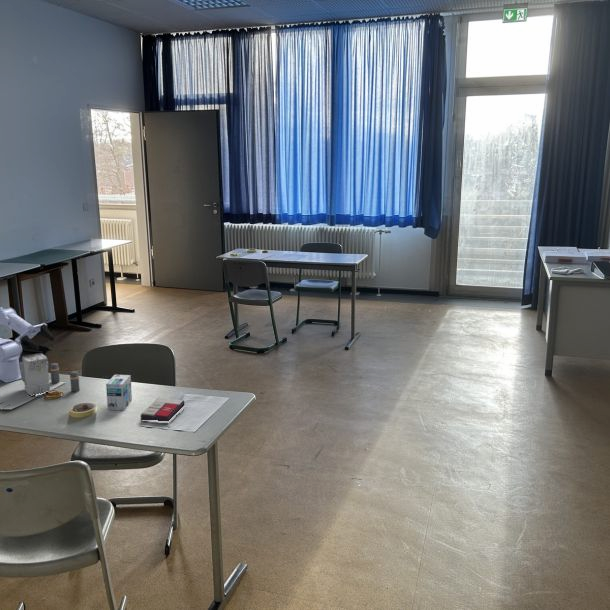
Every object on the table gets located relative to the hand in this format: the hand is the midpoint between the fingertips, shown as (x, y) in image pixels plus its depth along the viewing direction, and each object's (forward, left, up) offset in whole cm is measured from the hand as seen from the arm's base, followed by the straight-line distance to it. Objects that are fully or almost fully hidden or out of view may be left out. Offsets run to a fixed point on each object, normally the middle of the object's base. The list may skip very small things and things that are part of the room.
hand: (46, 343), depth 248 cm
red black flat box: (+58, +12, -19) cm, 63 cm away
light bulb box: (+38, +7, -19) cm, 43 cm away
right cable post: (+12, +4, -19) cm, 23 cm away
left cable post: (-3, +4, -19) cm, 19 cm away
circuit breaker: (-1, -6, -19) cm, 20 cm away
